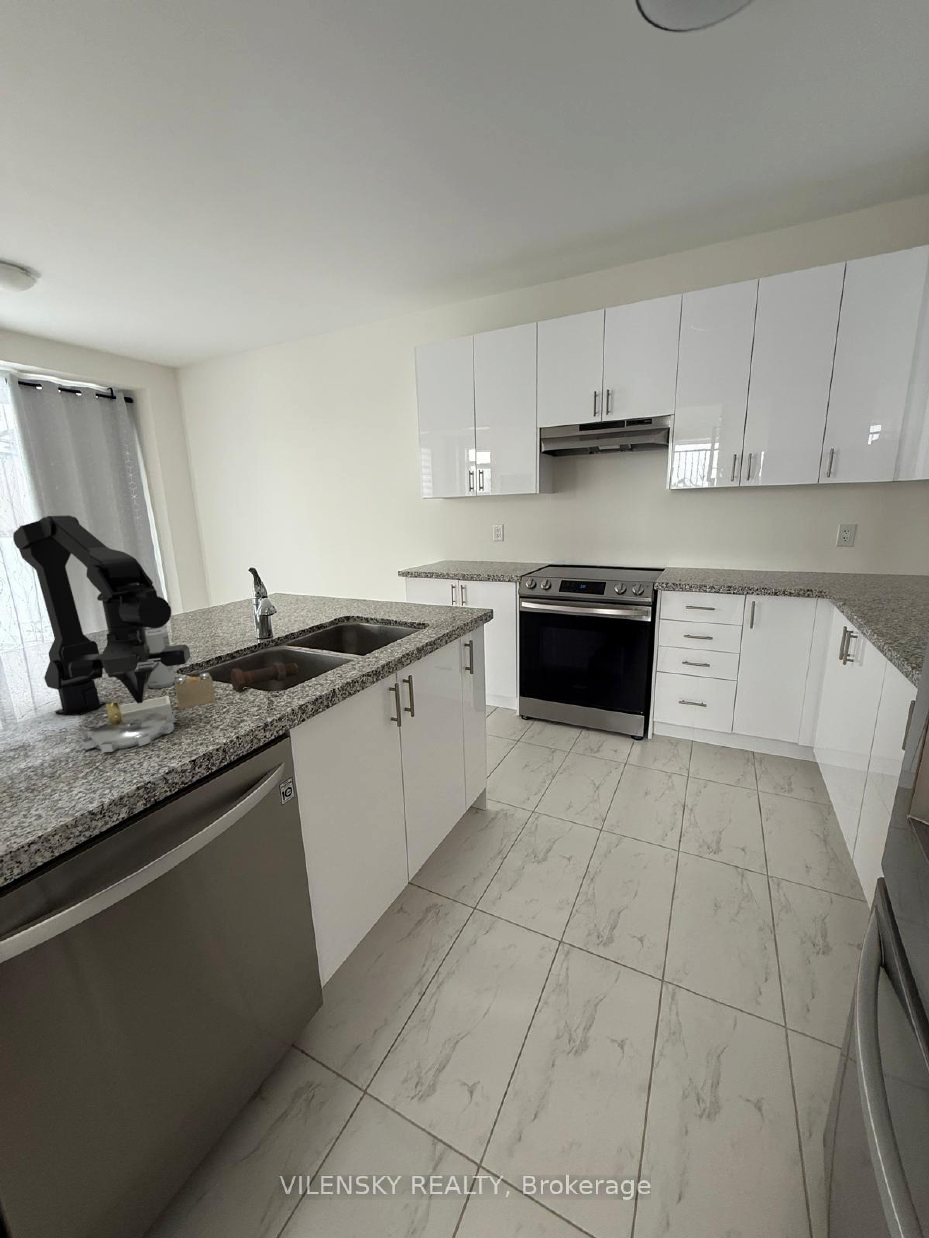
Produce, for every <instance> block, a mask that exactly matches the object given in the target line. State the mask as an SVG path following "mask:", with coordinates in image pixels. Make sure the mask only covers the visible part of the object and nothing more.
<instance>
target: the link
mask: <svg viewBox="0 0 929 1238" xmlns="http://www.w3.org/2000/svg"><path fill="white" fill-rule="evenodd" d="M173 684H174V690H175V696H176V701H177V705H178V709H179V710H180V711H181V710H184V709H189V708H192V707H193V708H194V707H198V706H202V705H207V704H212V703H216V696H215V691H214V683H213V678H212V676H211V675H210V673H209V672H202V673H200V674H199V676H192V677H188V678H186V677H184V676H183V677H182V676H181V677H178V678H175V681H174V682H173Z"/></svg>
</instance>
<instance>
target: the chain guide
mask: <svg viewBox="0 0 929 1238" xmlns="http://www.w3.org/2000/svg"><path fill="white" fill-rule="evenodd" d="M119 707H120V712H121V717H123V716H124V717H128V716H132V715H138V714H145V713H146V712H156V713H158V714H163V715H167V714H170V713H171V714H173V712H172V711H173V710H172V707H171V701H170V696H169V695H164V696H160V697H155V698H150V699H146V700H145V699H144V701H143V703H137V702H136V701H135V702H130V703H124V704H121V705H120V704H119Z"/></svg>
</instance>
